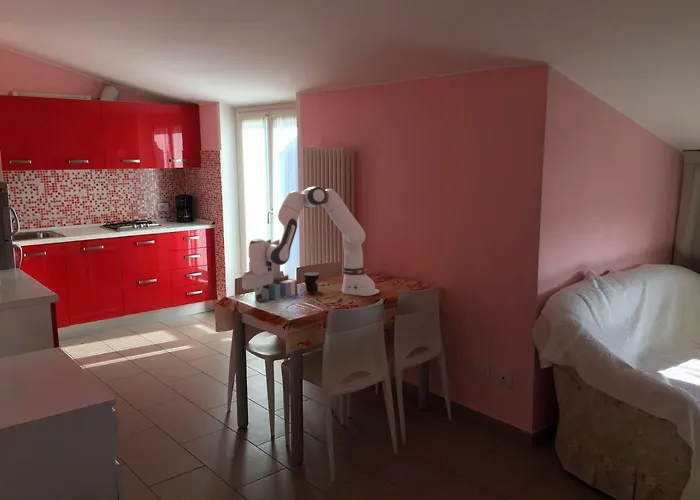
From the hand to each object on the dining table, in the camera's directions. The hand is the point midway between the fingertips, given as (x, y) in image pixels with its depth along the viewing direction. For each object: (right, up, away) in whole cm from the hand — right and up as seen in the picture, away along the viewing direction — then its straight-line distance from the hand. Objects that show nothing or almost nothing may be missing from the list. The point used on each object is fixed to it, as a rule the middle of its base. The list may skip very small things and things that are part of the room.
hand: (258, 294), depth 320 cm
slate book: (+13, -2, +17) cm, 21 cm away
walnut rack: (+8, -2, +15) cm, 17 cm away
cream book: (+15, -1, +20) cm, 25 cm away
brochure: (+4, -1, +26) cm, 27 cm away
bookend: (+2, -4, +3) cm, 6 cm away
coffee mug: (+26, 0, +28) cm, 38 cm away
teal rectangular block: (+8, -3, +10) cm, 13 cm away
